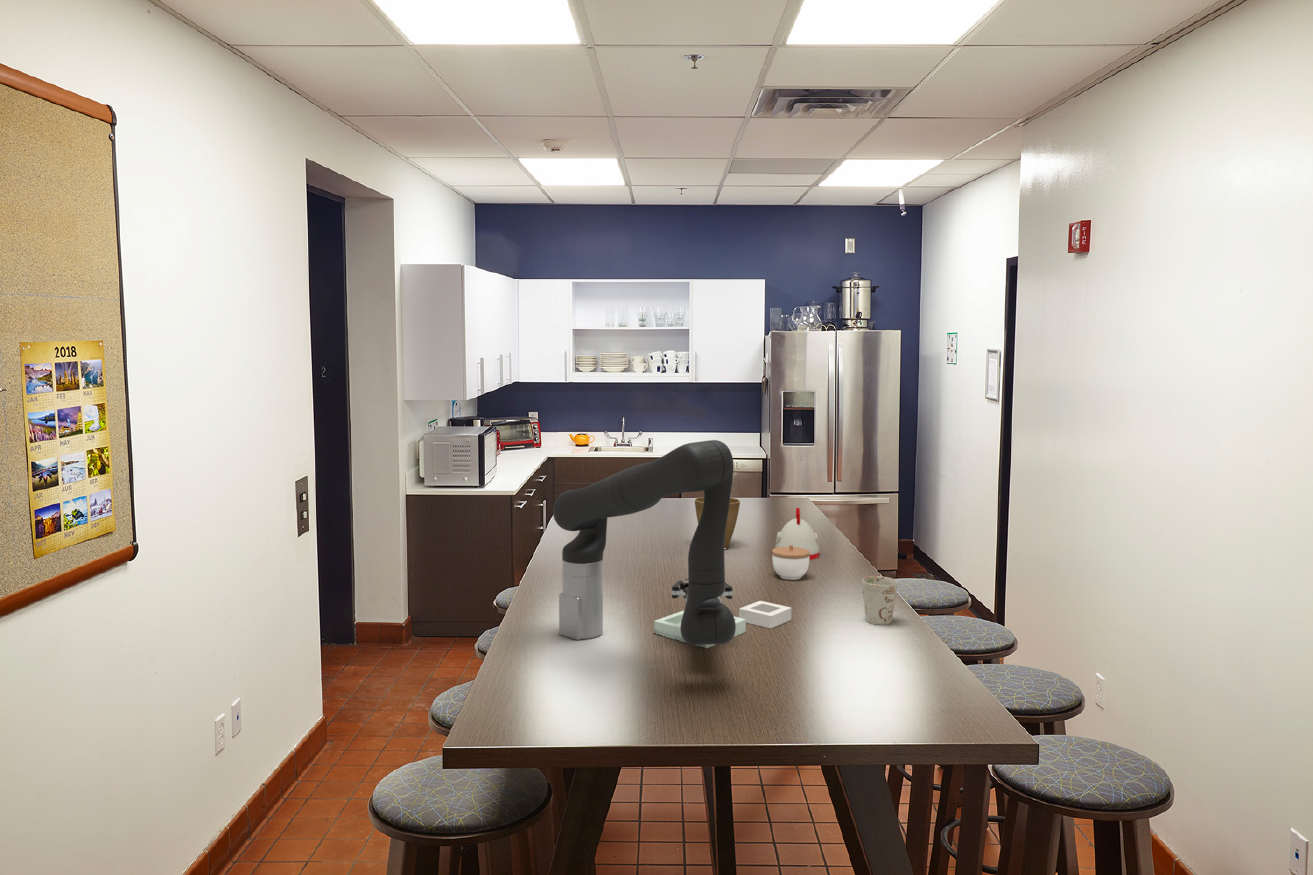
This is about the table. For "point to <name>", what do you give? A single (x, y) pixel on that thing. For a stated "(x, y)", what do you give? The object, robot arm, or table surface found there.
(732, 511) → the plant pot
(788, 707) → the table surface
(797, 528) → the chicken shaped dome
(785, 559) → the lidded jar
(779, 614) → the holder block
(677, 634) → the tray
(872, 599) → the mug
